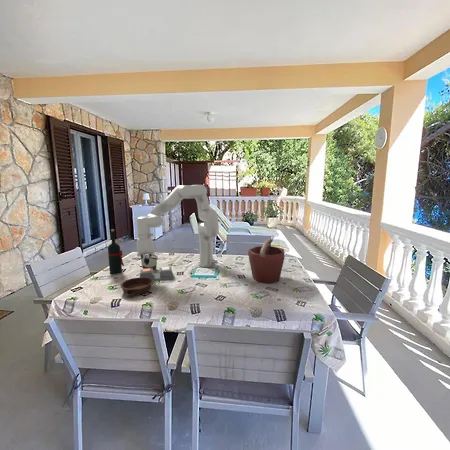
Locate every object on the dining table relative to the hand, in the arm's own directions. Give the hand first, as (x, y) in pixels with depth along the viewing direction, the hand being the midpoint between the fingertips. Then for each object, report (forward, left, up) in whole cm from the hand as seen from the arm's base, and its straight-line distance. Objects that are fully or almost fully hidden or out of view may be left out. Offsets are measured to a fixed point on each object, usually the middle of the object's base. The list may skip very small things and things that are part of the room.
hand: (146, 264), depth 165 cm
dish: (-6, +18, -10) cm, 21 cm away
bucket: (-74, -22, -10) cm, 77 cm away
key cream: (-10, -6, -7) cm, 13 cm away
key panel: (-5, -3, -9) cm, 11 cm away
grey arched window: (+8, -16, -10) cm, 20 cm away
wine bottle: (+26, -3, -10) cm, 28 cm away
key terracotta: (0, +1, -7) cm, 7 cm away
